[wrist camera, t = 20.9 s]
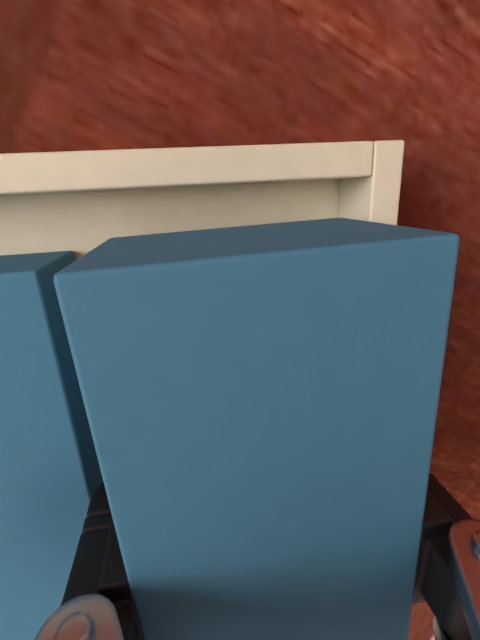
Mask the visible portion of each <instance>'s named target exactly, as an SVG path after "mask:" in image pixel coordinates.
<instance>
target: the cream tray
mask: <svg viewBox="0 0 480 640" xmlns="http://www.w3.org/2000/svg"><path fill="white" fill-rule="evenodd" d="M403 154H404V141H403V140H384V141H374V142H372V141H354V142H325V143H296V144H267V145H238V146H209V147H180V148H150V149H121V150H92V151H63V152H34V153H5V154H0V256H1V255H16V254H30V253H44V252H58V251H74V253H75V257H76V260H77V259H79V258H81V257H82V256H84V255H85V254H87V253H88V252H90V251H91V250H93V249H94V248H96V247H97V246H99V245H100V244H102V243H103V242H105V241H107V240H108V239H110V238H114V237H125V236H137V235H148V234H159V233H170V232H182V231H193V230H204V229H216V228H227V227H238V226H249V225H261V224H272V223H283V222H295V221H306V220H317V219H328V218H347V219H355V220H362V221H369V222H377V223H384V224H391V225H397V219H398V208H399V198H400V187H401V176H402V165H403Z"/></svg>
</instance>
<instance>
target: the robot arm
mask: <svg viewBox="0 0 480 640" xmlns="http://www.w3.org/2000/svg"><path fill="white" fill-rule="evenodd" d="M86 515H87V517H86V518H85V521H84V525H83V528H82V534H81V536H80V539H79V543H78V546H77V550H76V554H75V557H74V561H73V564H72V568H71V572H70V575H69V579H68V582H67V586H66V590H65V593H64V597H63V600H62V603H61V605H60V607H59V608H58V609H57V610H55V611H54V612H53V613H52V614H51V615H50V616H49V618H48V619H47V620H46V621H45V623H44V624H43V625H42V627H41V628H40V630H39V632H38V634H37V636H36V638H35V640H143V638H142V634H141V630H140V626H139V622H138V618H137V614H136V610H135V606H134V602H133V597H132V593H131V589H130V585H129V582H128V578H127V574H126V570H125V566H124V562H123V558H122V554H121V550H120V546H119V542H118V538H117V534H116V530H115V526H114V522H113V518H112V514H111V510H110V506H109V502H108V498H107V494H106V490H105V486H104V482H103V481H102V483H101V484H100V485H99V487H98V488H97V489H96V491H95V492H94V493H93V495H92V496H91V500H90V503H89V507H88V510H87V514H86ZM425 601H426V602H427V603H428V605H429V607H430V608H431V610H432V612H433V613H434V615H433V620H432V626H433V632H434V636H435V640H480V520H475V519H473V518H472V517H471V516H470V515H469V514H468V513H467V512H466V511H465V510H464V509H463V508H462V506H461V505H460V504H459V503H458V502H457V501H456V500H455V499H454V498H453V497H452V496H451V494H450V493H449V492H448V491H447V490H446V489H445V488H444V487H443V486H442V485H441V484H440V482H439V481H438V480H437V479H436V478H435V477H434V476H433V475H432V474H431V473H429V480H428V488H427V496H426V503H425V511H424V519H423V526H422V534H421V542H420V549H419V557H418V565H417V572H416V580H415V588H414V595H413V603H412V604H416V603H420V602H425Z"/></svg>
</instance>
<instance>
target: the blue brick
mask: <svg viewBox="0 0 480 640" xmlns="http://www.w3.org/2000/svg"><path fill="white" fill-rule="evenodd" d="M74 261H76V257H75V253H74V251H58V252H44V253H30V254H16V255H1V256H0V640H35V638H36V636H37V634H38V632H39V630H40V628H41V627H42V625H43V624H44V623H45V621H46V620H47V619H48V618H49V616H50V615H51V614H52V613H53V612H54V611H55V610H57V609H58V608H59V607H60V605H61V603H62V600H63V597H64V593H65V590H66V586H67V582H68V579H69V575H70V572H71V568H72V564H73V561H74V557H75V554H76V550H77V546H78V543H79V539H80V536H81V534H82V528H83V525H84V521H85V518H86V517H87V515H86V514H87V510H88V507H89V503H90V500H91V496H92V495H93V493H94V492H95V491H96V489H97V488H98V487H99V485H100V484H101V483H102V481H103V478H102V474H101V470H100V466H99V462H98V458H97V454H96V450H95V446H94V442H93V438H92V434H91V430H90V426H89V422H88V418H87V414H86V410H85V406H84V402H83V398H82V394H81V390H80V386H79V382H78V378H77V373H76V369H75V365H74V361H73V357H72V353H71V349H70V345H69V341H68V337H67V333H66V329H65V325H64V321H63V317H62V313H61V309H60V305H59V301H58V297H57V293H56V289H55V285H54V281H53V279H54V274H56V273H58V272H59V271H61V270H62V269H64V268H65V267H67V266H68V265H70V264H71V263H73V262H74Z"/></svg>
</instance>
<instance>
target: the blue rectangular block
mask: <svg viewBox="0 0 480 640" xmlns="http://www.w3.org/2000/svg"><path fill="white" fill-rule="evenodd" d="M459 243H460V238H459V236H458V235H457V234H454V233H450V232H442V231H435V230H428V229H420V228H413V227H406V226H398V225H391V224H384V223H377V222H369V221H362V220H355V219H347V218H328V219H317V220H306V221H295V222H283V223H272V224H261V225H249V226H238V227H227V228H216V229H204V230H193V231H182V232H170V233H159V234H148V235H137V236H125V237H114V238H110V239H108V240H107V241H105V242H103V243H102V244H100V245H99V246H97V247H96V248H94V249H93V250H91V251H90V252H88V253H87V254H85V255H84V256H82V257H81V258H79V259H77V260H76V261H74V262H73V263H71V264H70V265H68V266H67V267H65V268H64V269H62V270H61V271H59V272H58V273H56V274H54V279H53V281H54V285H55V289H56V293H57V297H58V301H59V305H60V309H61V313H62V317H63V321H64V325H65V329H66V333H67V337H68V341H69V345H70V349H71V353H72V357H73V361H74V365H75V369H76V373H77V378H78V382H79V386H80V390H81V394H82V398H83V402H84V406H85V410H86V414H87V418H88V422H89V426H90V430H91V434H92V438H93V442H94V446H95V450H96V454H97V458H98V462H99V466H100V470H101V474H102V478H103V482H104V486H105V490H106V494H107V498H108V502H109V506H110V510H111V514H112V518H113V522H114V526H115V530H116V534H117V538H118V542H119V546H120V550H121V554H122V558H123V562H124V566H125V570H126V574H127V578H128V582H129V585H130V589H131V593H132V597H133V602H134V606H135V610H136V614H137V618H138V622H139V626H140V630H141V634H142V638H143V640H408V634H409V626H410V618H411V611H412V603H413V595H414V588H415V580H416V572H417V565H418V557H419V549H420V542H421V534H422V526H423V519H424V511H425V503H426V496H427V488H428V480H429V473H430V465H431V457H432V450H433V442H434V434H435V427H436V419H437V411H438V404H439V396H440V388H441V381H442V373H443V365H444V358H445V350H446V342H447V335H448V327H449V319H450V312H451V304H452V296H453V289H454V281H455V273H456V266H457V258H458V250H459Z"/></svg>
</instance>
